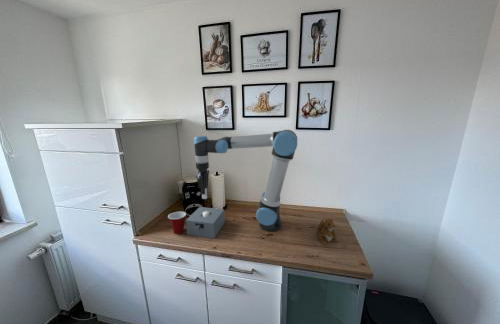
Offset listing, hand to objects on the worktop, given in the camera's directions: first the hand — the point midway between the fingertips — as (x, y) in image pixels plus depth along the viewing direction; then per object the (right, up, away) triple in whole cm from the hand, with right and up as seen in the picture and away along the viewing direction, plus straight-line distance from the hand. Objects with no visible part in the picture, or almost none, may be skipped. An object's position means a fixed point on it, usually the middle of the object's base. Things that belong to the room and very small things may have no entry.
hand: (204, 198), depth 125 cm
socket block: (0, -21, +5) cm, 21 cm away
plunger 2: (+2, -13, +11) cm, 17 cm away
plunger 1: (-2, -16, -4) cm, 17 cm away
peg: (0, -20, +6) cm, 21 cm away
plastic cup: (-17, -22, +2) cm, 28 cm away
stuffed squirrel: (+73, -23, -5) cm, 77 cm away
